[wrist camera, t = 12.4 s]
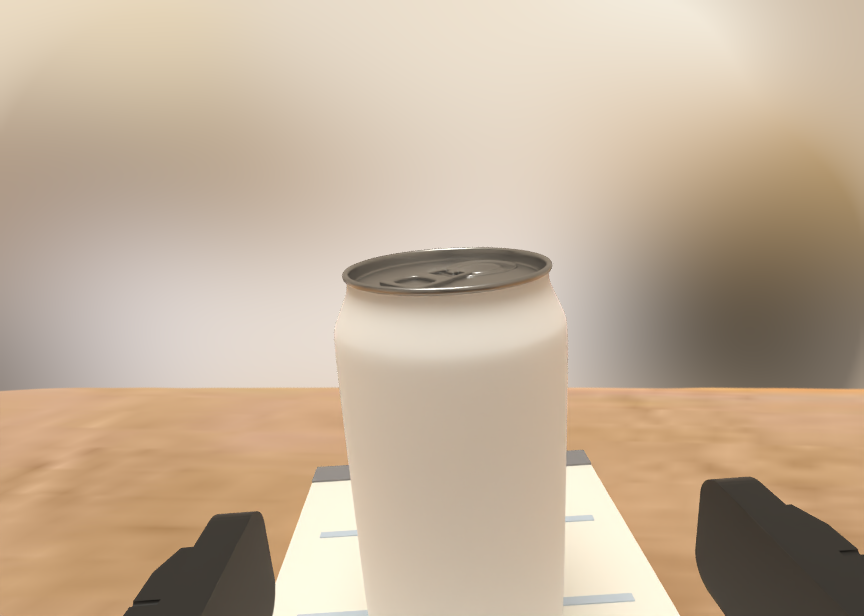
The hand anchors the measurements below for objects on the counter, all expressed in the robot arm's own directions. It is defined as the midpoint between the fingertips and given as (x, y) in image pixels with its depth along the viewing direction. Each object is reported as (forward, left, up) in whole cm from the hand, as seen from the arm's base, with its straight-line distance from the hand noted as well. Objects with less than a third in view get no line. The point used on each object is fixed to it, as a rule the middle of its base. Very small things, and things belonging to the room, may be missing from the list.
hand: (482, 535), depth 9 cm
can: (0, +6, -8) cm, 10 cm away
